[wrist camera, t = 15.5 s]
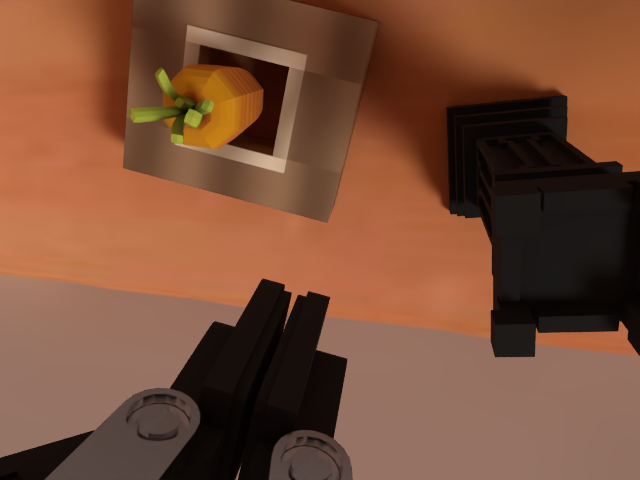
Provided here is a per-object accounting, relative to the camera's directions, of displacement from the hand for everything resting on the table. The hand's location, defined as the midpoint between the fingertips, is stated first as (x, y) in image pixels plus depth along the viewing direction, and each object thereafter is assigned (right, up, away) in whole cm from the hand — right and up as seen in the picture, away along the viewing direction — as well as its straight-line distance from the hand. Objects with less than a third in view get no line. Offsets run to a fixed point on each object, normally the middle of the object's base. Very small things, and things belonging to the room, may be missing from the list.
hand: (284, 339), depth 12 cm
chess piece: (+14, +9, +26) cm, 31 cm away
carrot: (-4, +14, +27) cm, 31 cm away
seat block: (-4, +13, +27) cm, 30 cm away
